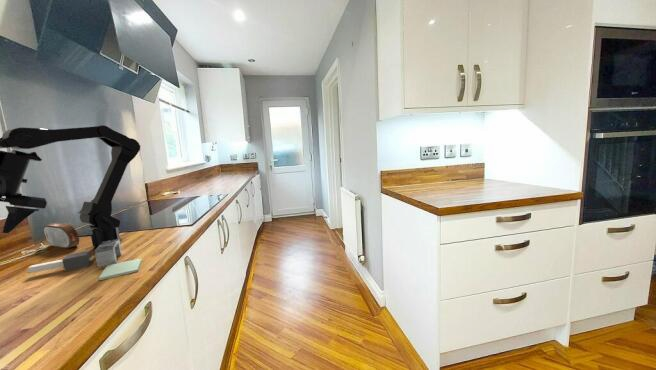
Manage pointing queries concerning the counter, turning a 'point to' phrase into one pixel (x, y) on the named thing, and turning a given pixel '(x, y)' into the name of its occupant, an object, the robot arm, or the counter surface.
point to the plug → (66, 262)
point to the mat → (120, 269)
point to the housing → (108, 252)
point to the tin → (61, 235)
